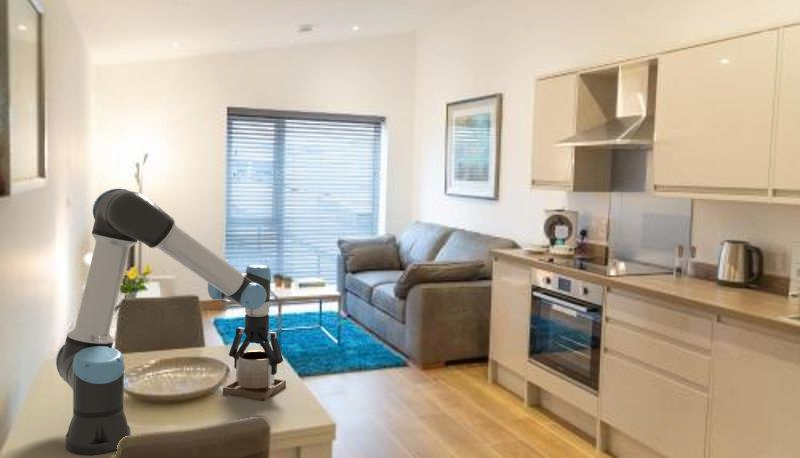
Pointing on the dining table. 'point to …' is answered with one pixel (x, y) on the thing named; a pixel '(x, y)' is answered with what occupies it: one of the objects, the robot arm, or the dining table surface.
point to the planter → (253, 370)
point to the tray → (254, 390)
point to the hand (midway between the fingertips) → (255, 381)
